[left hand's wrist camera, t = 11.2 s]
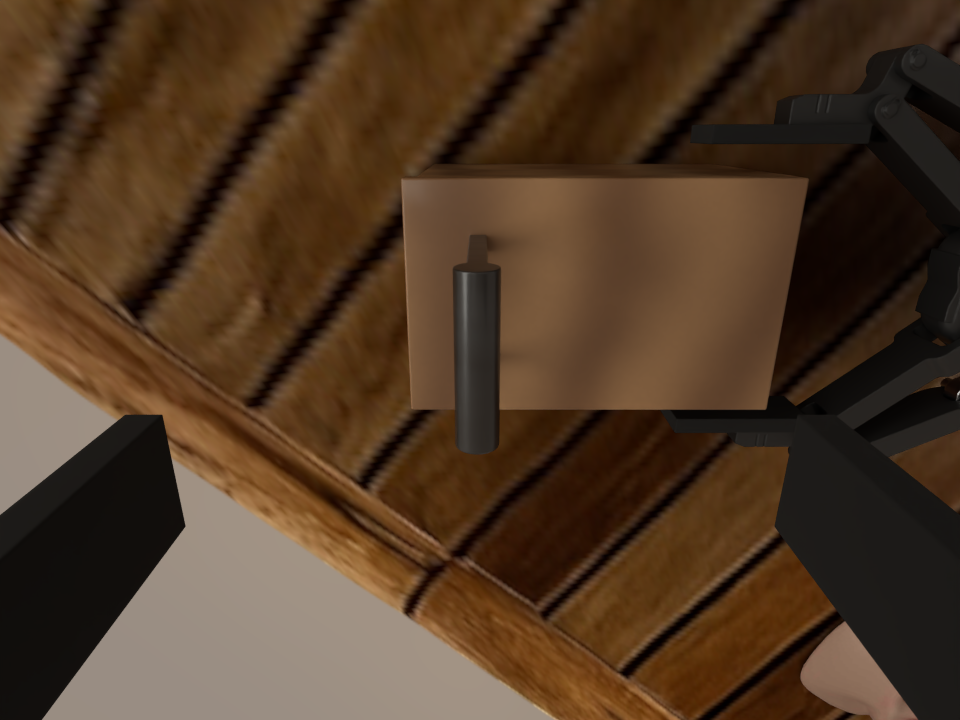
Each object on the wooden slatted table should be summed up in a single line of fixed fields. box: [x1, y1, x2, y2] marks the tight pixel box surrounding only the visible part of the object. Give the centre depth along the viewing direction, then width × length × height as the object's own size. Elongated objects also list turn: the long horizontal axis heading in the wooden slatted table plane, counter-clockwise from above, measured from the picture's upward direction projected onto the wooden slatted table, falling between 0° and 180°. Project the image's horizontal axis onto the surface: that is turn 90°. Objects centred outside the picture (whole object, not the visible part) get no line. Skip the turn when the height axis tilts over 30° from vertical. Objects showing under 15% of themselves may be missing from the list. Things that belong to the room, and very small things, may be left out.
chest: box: [417, 164, 797, 177], centre depth 30 cm, size 15×10×10 cm, turn 90°
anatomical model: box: [800, 621, 918, 720], centre depth 44 cm, size 13×4×12 cm
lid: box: [401, 177, 809, 454], centre depth 22 cm, size 16×10×8 cm, turn 90°
